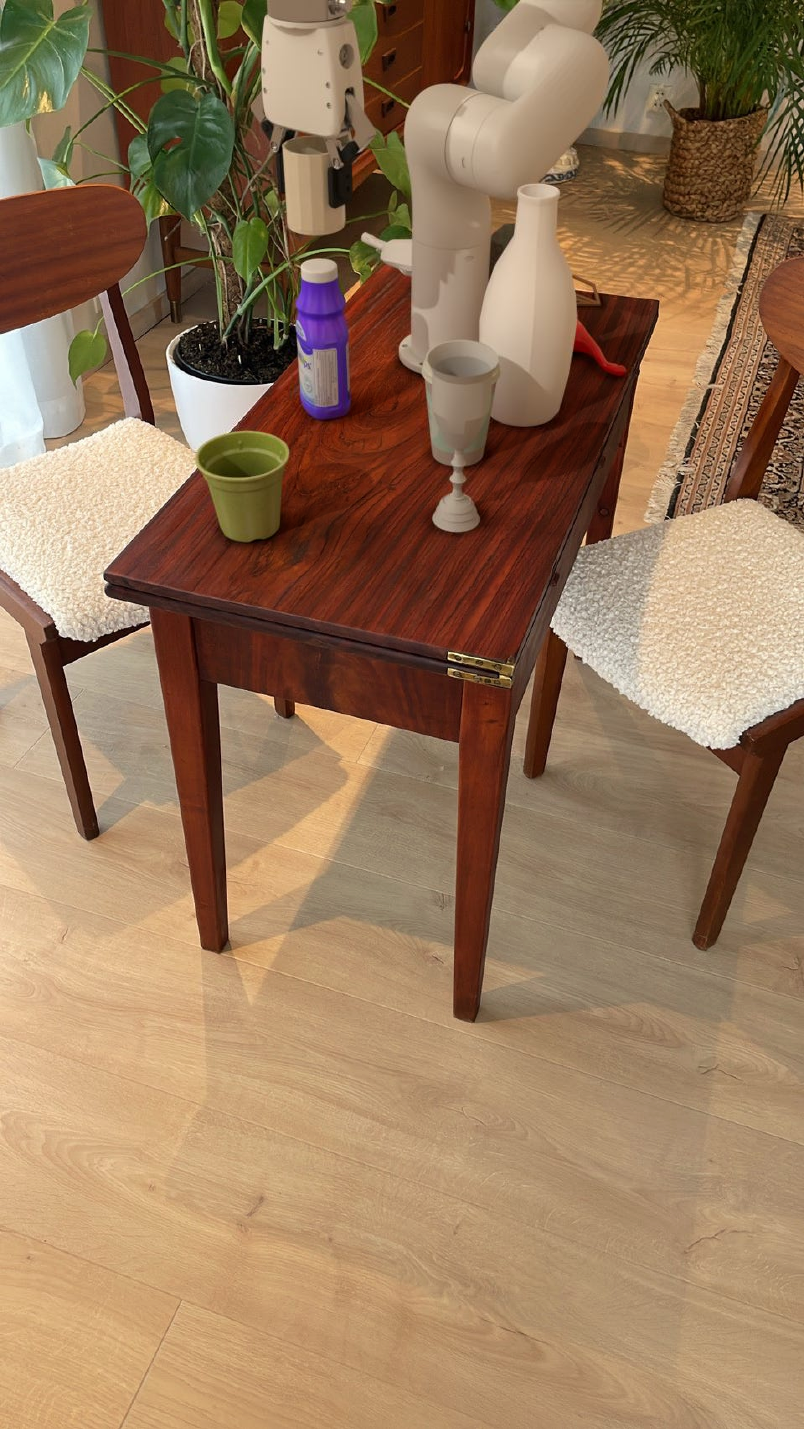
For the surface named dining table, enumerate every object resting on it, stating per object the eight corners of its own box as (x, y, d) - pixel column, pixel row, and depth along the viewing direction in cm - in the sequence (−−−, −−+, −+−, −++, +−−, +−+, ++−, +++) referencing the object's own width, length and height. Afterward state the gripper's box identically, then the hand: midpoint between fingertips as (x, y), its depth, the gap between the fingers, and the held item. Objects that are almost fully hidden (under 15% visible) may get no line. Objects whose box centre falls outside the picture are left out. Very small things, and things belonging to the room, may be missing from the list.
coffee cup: (443, 427, 136) (446, 330, 128) (508, 447, 133) (515, 349, 125) (406, 460, 131) (406, 361, 123) (472, 481, 128) (478, 381, 120)
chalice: (482, 541, 119) (492, 380, 107) (418, 534, 120) (420, 373, 108) (492, 503, 125) (503, 345, 112) (430, 496, 126) (434, 338, 113)
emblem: (511, 290, 164) (511, 286, 164) (557, 270, 170) (557, 266, 169) (577, 317, 158) (577, 312, 158) (622, 295, 163) (623, 290, 163)
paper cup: (312, 209, 128) (308, 132, 122) (356, 222, 125) (354, 143, 120) (275, 226, 124) (269, 147, 119) (320, 240, 121) (316, 159, 116)
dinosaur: (508, 296, 151) (513, 342, 142) (619, 313, 152) (631, 360, 144) (501, 324, 154) (506, 371, 145) (611, 341, 155) (622, 388, 146)
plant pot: (187, 540, 119) (176, 466, 114) (233, 494, 126) (225, 422, 120) (267, 561, 117) (260, 487, 111) (310, 514, 123) (305, 441, 117)
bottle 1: (294, 399, 141) (284, 256, 129) (338, 391, 143) (333, 249, 131) (312, 427, 136) (304, 281, 124) (357, 418, 138) (354, 274, 126)
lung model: (543, 274, 161) (403, 236, 173) (485, 234, 146) (336, 196, 158) (527, 321, 162) (388, 281, 174) (467, 286, 148) (321, 244, 160)
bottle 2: (584, 404, 140) (611, 186, 123) (536, 442, 134) (556, 218, 116) (507, 378, 145) (522, 165, 128) (457, 414, 139) (465, 194, 121)
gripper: (402, 8, 109) (401, 205, 121) (264, -17, 116) (276, 171, 129) (353, 24, 104) (357, 226, 117) (212, -4, 112) (230, 190, 124)
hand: (315, 195), depth 123 cm, fingers closed on paper cup, 6 cm apart
